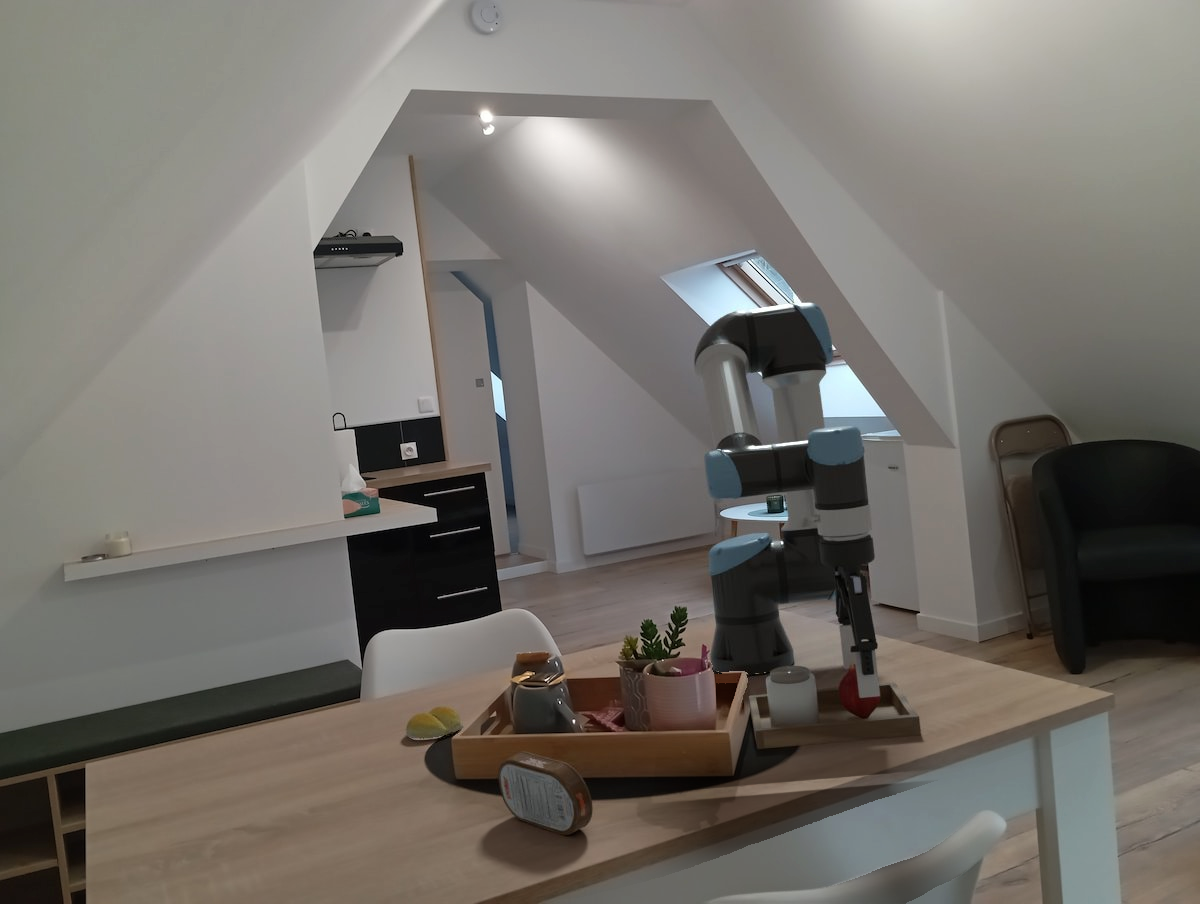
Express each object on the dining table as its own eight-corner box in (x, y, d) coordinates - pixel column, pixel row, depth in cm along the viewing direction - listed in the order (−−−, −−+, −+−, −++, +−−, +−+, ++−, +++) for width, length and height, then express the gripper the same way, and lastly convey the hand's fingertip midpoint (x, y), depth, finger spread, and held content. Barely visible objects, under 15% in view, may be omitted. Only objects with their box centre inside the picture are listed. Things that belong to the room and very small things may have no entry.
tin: (598, 834, 118) (589, 765, 118) (579, 845, 116) (570, 774, 115) (517, 808, 129) (509, 744, 128) (498, 817, 127) (490, 752, 126)
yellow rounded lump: (399, 736, 166) (396, 713, 165) (448, 721, 171) (445, 698, 170) (419, 747, 159) (416, 722, 159) (470, 731, 164) (467, 707, 163)
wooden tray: (751, 718, 152) (748, 695, 152) (897, 705, 150) (895, 682, 150) (758, 755, 136) (755, 730, 136) (921, 741, 134) (919, 716, 134)
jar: (769, 719, 148) (763, 667, 147) (816, 715, 147) (810, 662, 147) (773, 736, 141) (766, 680, 140) (823, 731, 140) (816, 675, 140)
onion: (890, 719, 139) (876, 663, 140) (849, 728, 140) (836, 673, 140) (881, 709, 145) (867, 655, 145) (842, 717, 146) (829, 664, 146)
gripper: (808, 525, 154) (823, 659, 156) (830, 553, 130) (848, 712, 131) (857, 520, 154) (871, 654, 155) (889, 547, 129) (906, 707, 130)
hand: (861, 681), depth 143 cm, fingers open, 13 cm apart
